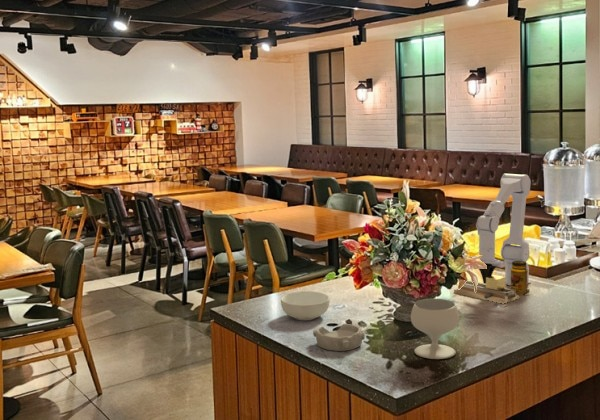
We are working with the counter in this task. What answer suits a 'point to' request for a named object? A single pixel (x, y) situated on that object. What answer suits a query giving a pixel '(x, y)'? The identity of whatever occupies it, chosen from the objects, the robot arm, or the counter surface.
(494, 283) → the pale yellow cube
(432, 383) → the counter surface
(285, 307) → the cereal bowl
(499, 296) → the wooden tray
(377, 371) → the counter surface
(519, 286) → the condiment
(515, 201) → the robot arm
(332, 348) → the dish
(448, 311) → the chalice
